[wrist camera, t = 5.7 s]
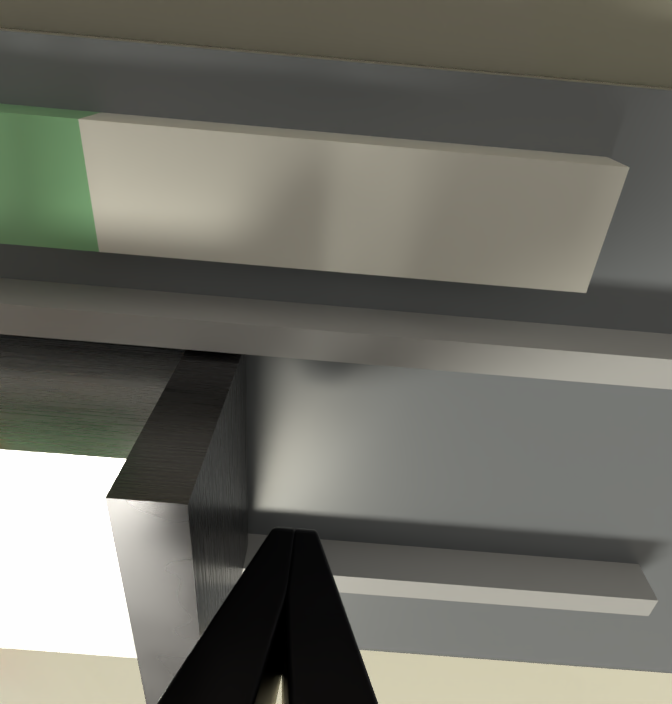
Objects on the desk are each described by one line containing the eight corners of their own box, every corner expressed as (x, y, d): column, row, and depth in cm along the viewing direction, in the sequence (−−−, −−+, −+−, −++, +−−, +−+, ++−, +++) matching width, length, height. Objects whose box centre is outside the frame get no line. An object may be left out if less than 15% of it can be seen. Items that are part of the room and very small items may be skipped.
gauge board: (1077, 124, 9) (1759, 205, 5) (696, 643, 16) (817, 856, 12) (-380, -7, 9) (-1124, -51, 4) (-80, 583, 16) (-238, 781, 12)
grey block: (243, 114, 8) (158, 174, 4) (248, 544, 13) (208, 732, 9) (-233, 72, 8) (-697, 99, 4) (-46, 521, 13) (-196, 702, 9)
